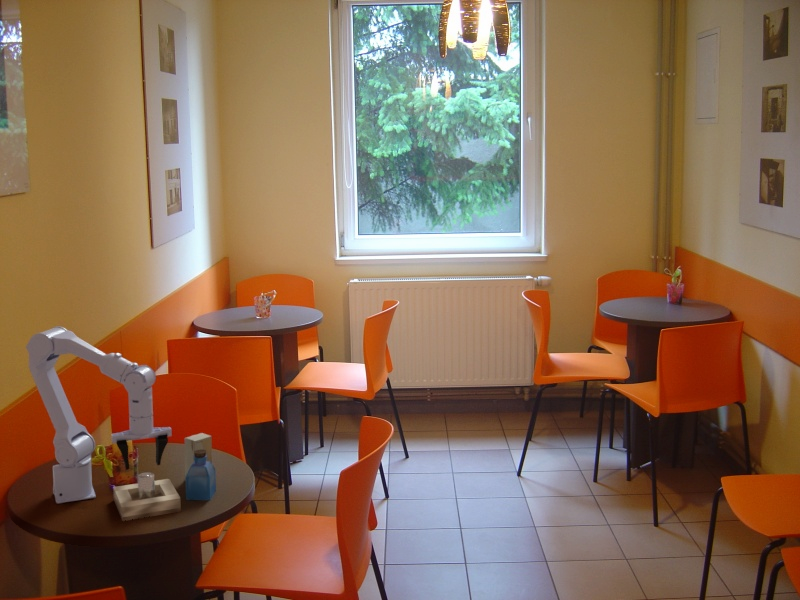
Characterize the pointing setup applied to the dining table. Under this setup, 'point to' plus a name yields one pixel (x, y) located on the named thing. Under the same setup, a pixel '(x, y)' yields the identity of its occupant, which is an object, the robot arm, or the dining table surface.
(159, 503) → the socket block
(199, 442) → the skincare box
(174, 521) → the dining table surface
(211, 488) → the perfume bottle
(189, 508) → the dining table surface
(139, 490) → the metal pin
